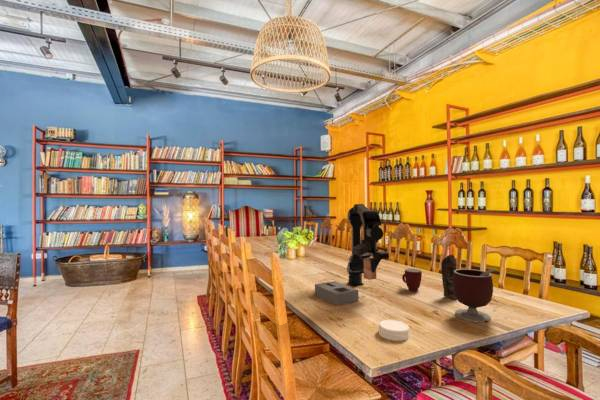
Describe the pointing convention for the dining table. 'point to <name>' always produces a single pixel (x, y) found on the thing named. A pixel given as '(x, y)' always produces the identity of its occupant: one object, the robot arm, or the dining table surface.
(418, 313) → the dining table surface
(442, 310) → the dining table surface
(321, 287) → the socket board
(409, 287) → the mug
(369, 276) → the peg
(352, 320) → the dining table surface
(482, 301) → the mate gourd
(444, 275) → the statue
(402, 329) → the coaster
